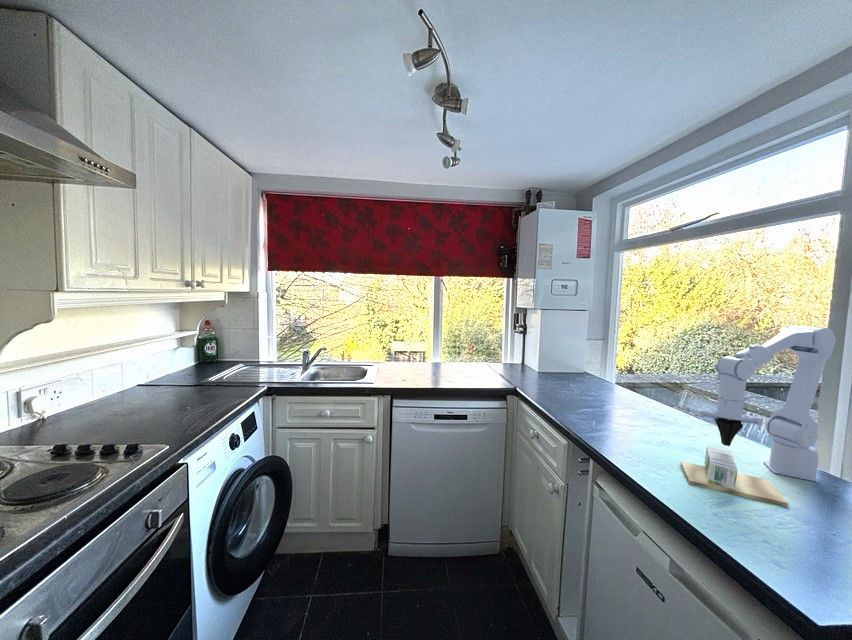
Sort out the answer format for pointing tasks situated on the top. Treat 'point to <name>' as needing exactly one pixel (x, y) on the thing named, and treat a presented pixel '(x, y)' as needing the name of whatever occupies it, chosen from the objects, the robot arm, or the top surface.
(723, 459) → the syrup box
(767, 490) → the bamboo board
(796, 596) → the top surface
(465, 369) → the top surface
